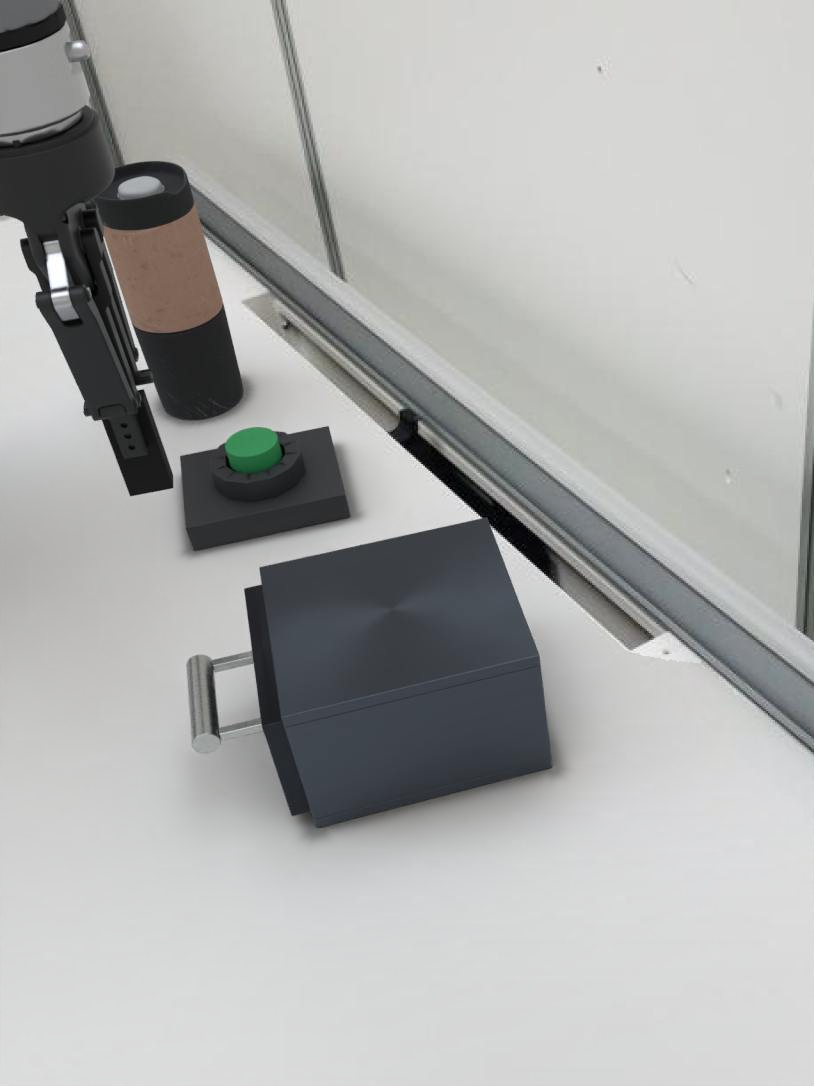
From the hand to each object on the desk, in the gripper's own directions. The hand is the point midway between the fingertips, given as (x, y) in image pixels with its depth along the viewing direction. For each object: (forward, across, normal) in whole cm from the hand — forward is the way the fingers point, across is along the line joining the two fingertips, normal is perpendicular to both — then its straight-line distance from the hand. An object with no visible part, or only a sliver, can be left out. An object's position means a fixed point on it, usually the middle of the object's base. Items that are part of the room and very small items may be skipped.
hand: (151, 485), depth 82 cm
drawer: (+12, -14, -9) cm, 20 cm away
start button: (+9, +14, -5) cm, 18 cm away
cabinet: (+13, -13, -13) cm, 23 cm away
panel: (+12, +14, -5) cm, 20 cm away
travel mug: (+13, +31, -1) cm, 34 cm away
